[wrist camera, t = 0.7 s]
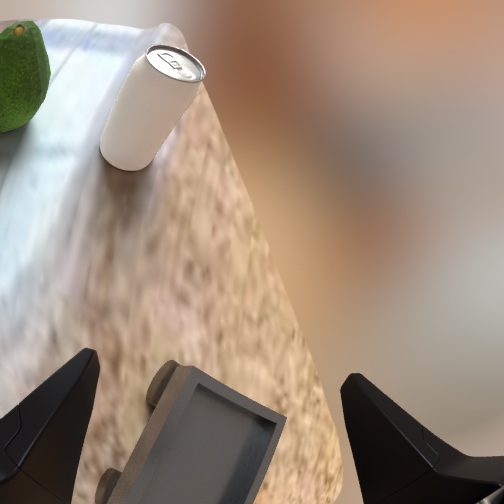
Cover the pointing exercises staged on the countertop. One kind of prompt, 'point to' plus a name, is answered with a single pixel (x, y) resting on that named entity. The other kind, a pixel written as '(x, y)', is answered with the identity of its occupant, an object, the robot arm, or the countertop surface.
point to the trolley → (196, 445)
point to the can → (150, 105)
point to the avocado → (22, 74)
